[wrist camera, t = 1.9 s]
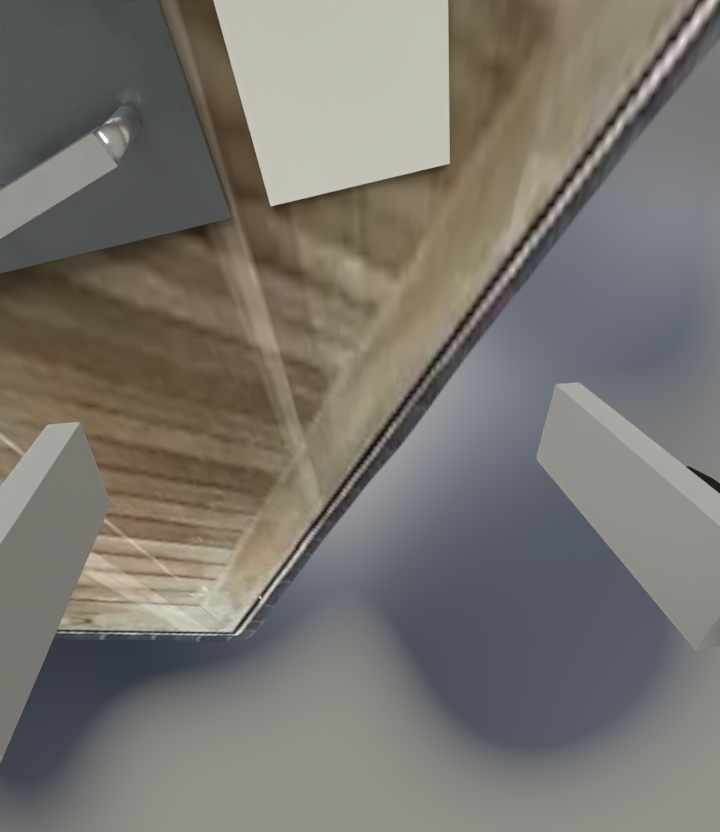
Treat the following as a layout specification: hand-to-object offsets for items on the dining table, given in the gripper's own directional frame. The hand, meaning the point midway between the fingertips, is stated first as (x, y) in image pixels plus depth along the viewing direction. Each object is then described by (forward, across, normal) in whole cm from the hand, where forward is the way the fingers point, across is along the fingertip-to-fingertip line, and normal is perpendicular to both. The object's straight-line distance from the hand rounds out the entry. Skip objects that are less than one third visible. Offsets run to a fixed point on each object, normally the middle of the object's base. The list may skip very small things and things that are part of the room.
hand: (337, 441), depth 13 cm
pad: (+27, +4, +11) cm, 29 cm away
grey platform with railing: (+26, -26, +5) cm, 37 cm away
